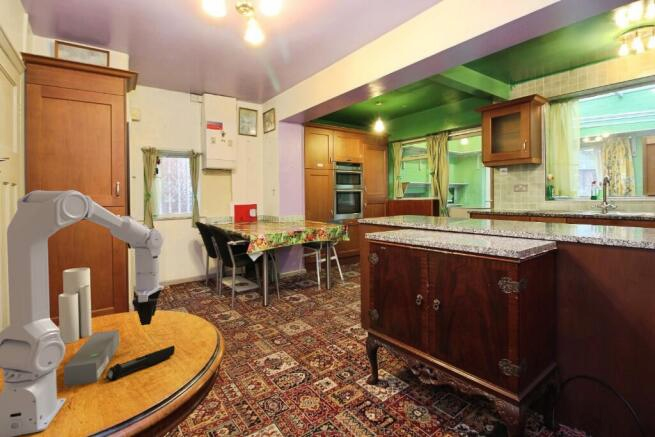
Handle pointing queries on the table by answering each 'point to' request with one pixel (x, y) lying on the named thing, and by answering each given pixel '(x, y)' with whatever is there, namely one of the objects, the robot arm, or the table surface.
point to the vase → (75, 305)
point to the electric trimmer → (139, 363)
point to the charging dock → (91, 358)
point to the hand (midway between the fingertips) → (148, 320)
